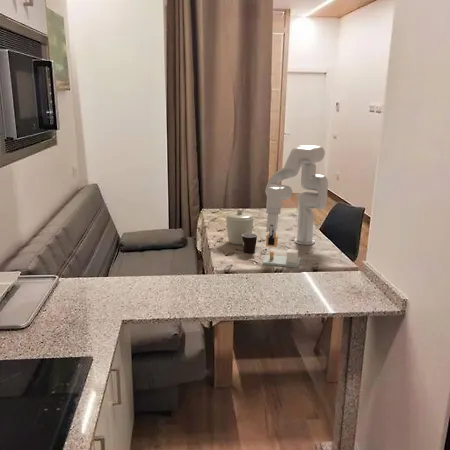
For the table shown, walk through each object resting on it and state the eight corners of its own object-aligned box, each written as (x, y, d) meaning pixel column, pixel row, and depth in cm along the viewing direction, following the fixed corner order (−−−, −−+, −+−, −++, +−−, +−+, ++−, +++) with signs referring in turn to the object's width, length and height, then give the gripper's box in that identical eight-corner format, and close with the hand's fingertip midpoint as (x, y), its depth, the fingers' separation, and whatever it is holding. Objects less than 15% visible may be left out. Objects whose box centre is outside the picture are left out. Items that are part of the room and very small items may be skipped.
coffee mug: (255, 254, 253) (256, 237, 251) (240, 253, 255) (240, 236, 252) (258, 248, 264) (258, 232, 262) (243, 247, 266) (244, 231, 263)
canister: (220, 244, 271) (220, 210, 265) (230, 236, 287) (231, 204, 282) (248, 248, 264) (249, 213, 259) (257, 240, 281) (258, 207, 275)
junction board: (265, 256, 250) (266, 245, 249) (300, 259, 246) (300, 248, 245) (262, 264, 238) (262, 252, 236) (298, 267, 234) (299, 255, 232)
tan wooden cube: (267, 243, 244) (267, 233, 243) (277, 244, 243) (278, 234, 241) (266, 246, 239) (266, 236, 237) (276, 247, 237) (276, 237, 236)
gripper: (268, 206, 245) (266, 238, 249) (264, 213, 229) (262, 247, 233) (282, 207, 243) (280, 239, 248) (278, 214, 227) (277, 248, 232)
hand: (271, 243), depth 240 cm, fingers closed on tan wooden cube, 5 cm apart
